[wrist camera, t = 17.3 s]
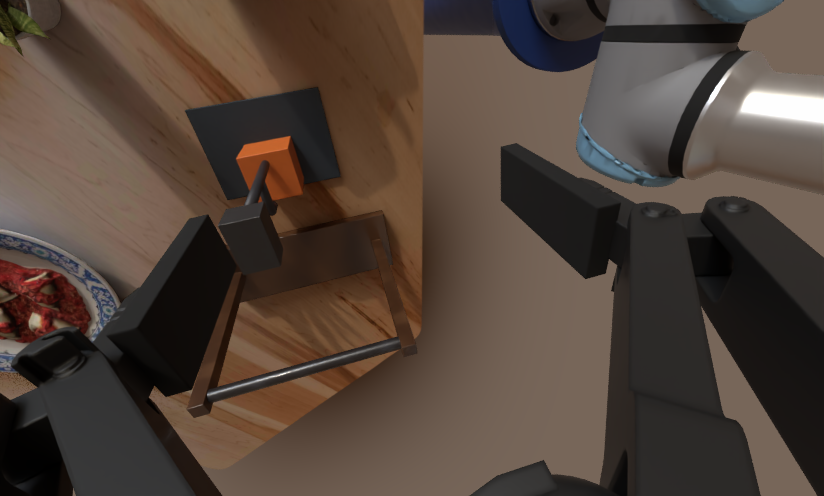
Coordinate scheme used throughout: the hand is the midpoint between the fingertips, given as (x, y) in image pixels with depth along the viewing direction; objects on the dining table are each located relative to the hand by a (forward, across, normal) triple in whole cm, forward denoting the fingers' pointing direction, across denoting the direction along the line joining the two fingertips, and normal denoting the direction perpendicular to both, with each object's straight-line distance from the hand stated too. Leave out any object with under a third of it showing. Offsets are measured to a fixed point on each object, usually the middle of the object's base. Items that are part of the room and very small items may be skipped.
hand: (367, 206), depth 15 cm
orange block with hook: (+34, -10, -7) cm, 36 cm away
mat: (+35, -10, -5) cm, 36 cm away
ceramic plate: (+34, -51, -18) cm, 64 cm away
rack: (+35, -11, -23) cm, 43 cm away
